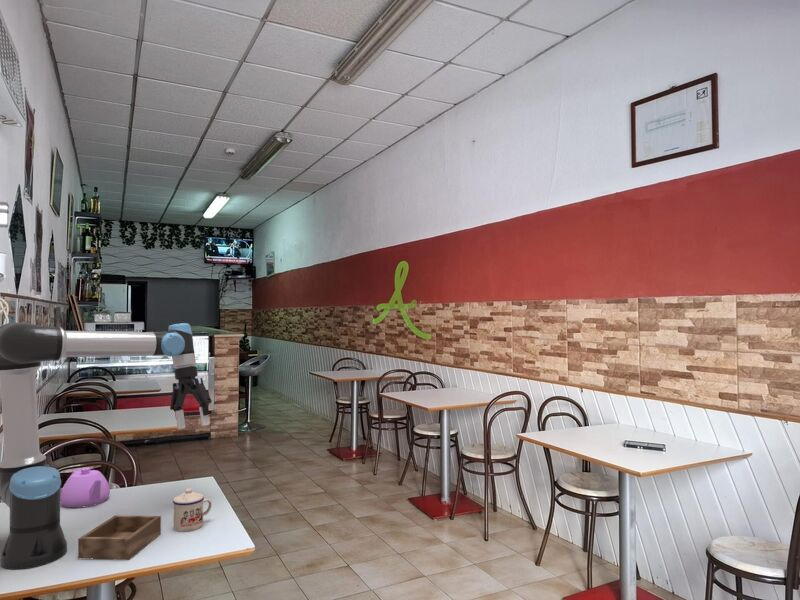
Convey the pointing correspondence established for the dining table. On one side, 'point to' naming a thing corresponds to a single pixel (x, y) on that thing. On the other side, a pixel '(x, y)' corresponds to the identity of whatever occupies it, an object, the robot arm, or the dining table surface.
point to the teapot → (84, 488)
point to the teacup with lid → (189, 511)
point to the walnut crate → (119, 537)
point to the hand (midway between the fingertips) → (193, 427)
